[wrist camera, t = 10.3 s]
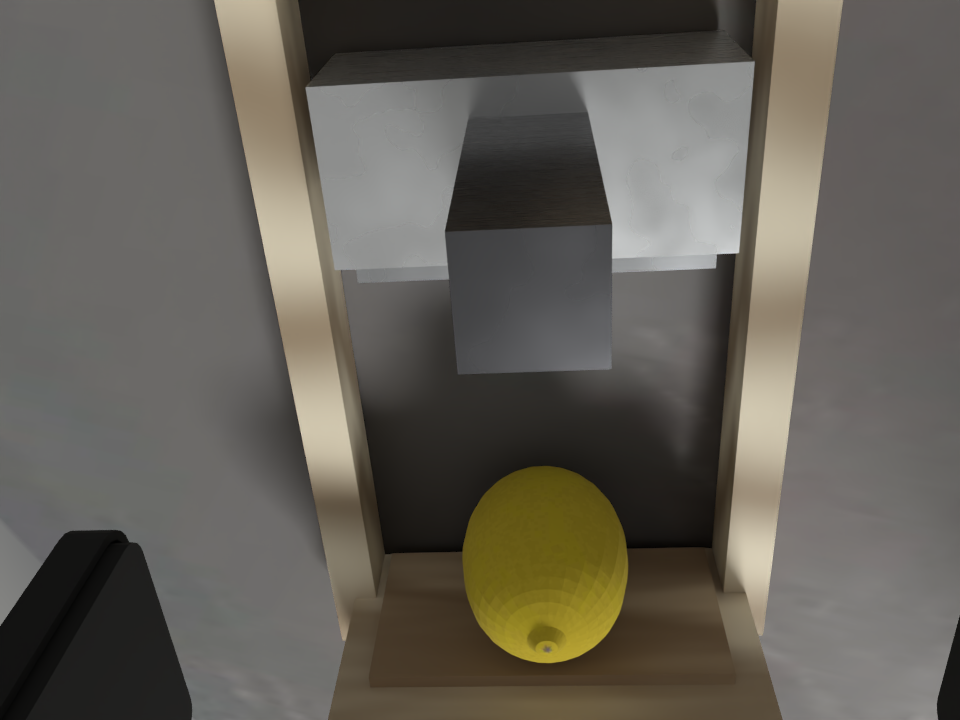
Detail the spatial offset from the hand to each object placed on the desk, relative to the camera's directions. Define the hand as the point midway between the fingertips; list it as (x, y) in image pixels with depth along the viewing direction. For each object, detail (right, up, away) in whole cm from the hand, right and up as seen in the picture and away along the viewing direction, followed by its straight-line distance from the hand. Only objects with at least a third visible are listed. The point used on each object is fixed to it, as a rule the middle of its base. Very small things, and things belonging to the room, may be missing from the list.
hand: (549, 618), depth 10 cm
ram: (+1, +10, +17) cm, 19 cm away
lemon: (+2, -2, +24) cm, 24 cm away
